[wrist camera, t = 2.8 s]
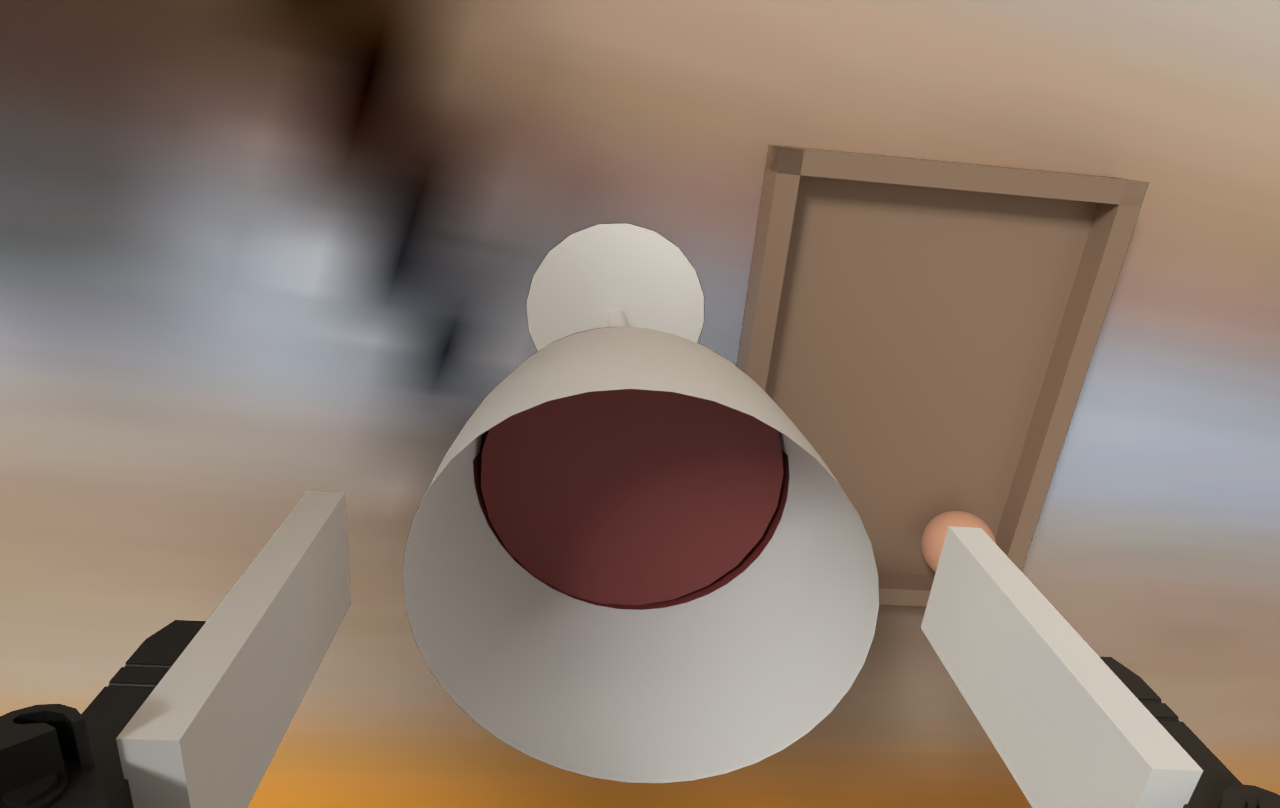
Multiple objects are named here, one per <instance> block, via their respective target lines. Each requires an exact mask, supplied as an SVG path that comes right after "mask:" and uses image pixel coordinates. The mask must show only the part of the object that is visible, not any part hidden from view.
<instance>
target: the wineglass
mask: <svg viewBox="0 0 1280 808" xmlns="http://www.w3.org/2000/svg"><path fill="white" fill-rule="evenodd" d="M526 304H527V316H528V329H529V332H530V335H531V337H532V339H533V342H534V344H535V346H536V349H537V351H538V352H536V353H534V354H533V355H531V356H530V357H529V358H528V359H527V360H526V361H524V362H523V363H522V364H521V365H520V366H518V367H517V368H516V369H515V370H514V371H513V372H512V373H511V374H510V375H508V376H507V377H506V378H505V379H504V380H503V381H502V382H501V383H499V384H498V385H497V386H496V387H495V388H494V389H493V390H492V391H491V392H490V393H489V394H488V396H487V397H486V398H485V399H484V400H483V402H482V403H481V404H480V406H479V407H478V408H477V410H476V411H475V412H474V413H473V415H472V416H471V417H470V419H469V420H468V421H467V423H466V424H465V426H464V427H463V429H462V430H461V432H460V433H459V435H458V436H457V438H456V439H455V441H454V442H453V444H452V445H451V447H450V448H449V450H448V452H447V453H446V455H445V456H444V458H443V460H442V462H441V464H440V466H439V468H438V470H437V472H436V474H435V476H434V478H433V480H432V482H431V484H430V486H429V488H428V490H427V492H426V494H425V496H424V498H423V499H422V502H421V504H420V506H419V508H418V510H417V512H416V514H415V516H414V518H413V522H412V526H411V529H410V533H409V536H408V540H407V544H406V547H405V554H404V568H403V590H404V597H405V605H406V613H407V617H408V620H409V623H410V626H411V629H412V632H413V635H414V638H415V641H416V644H417V646H418V648H419V650H420V652H421V654H422V656H423V657H424V659H425V661H426V663H427V665H428V667H429V669H430V671H431V672H432V674H433V675H434V676H435V678H436V679H437V680H438V682H439V683H440V684H441V686H442V687H443V688H444V690H445V691H446V692H447V694H448V695H449V696H450V698H451V699H452V700H453V701H454V702H455V703H456V704H457V705H459V706H460V707H461V708H462V709H463V710H464V711H465V712H466V713H467V714H468V715H469V716H470V717H471V718H472V719H473V720H474V721H475V722H476V723H478V724H479V725H481V726H482V727H483V728H485V729H486V730H487V731H489V732H490V733H491V734H493V735H494V736H496V737H497V738H498V739H500V740H501V741H503V742H505V743H506V744H508V745H510V746H512V747H514V748H516V749H517V750H519V751H521V752H523V753H525V754H526V755H528V756H530V757H533V758H535V759H538V760H540V761H543V762H545V763H548V764H550V765H553V766H555V767H558V768H560V769H563V770H567V771H571V772H575V773H578V774H582V775H586V776H590V777H594V778H600V779H607V780H614V781H621V782H631V783H670V782H681V781H692V780H698V779H702V778H707V777H712V776H716V775H721V774H726V773H729V772H732V771H734V770H737V769H740V768H743V767H746V766H749V765H752V764H755V763H757V762H759V761H761V760H763V759H765V758H767V757H769V756H771V755H773V754H775V753H777V752H779V751H781V750H783V749H785V748H786V747H788V746H789V745H791V744H792V743H794V742H795V741H797V740H798V739H800V738H801V737H803V736H804V735H806V734H807V733H809V732H810V731H811V730H812V729H813V728H814V727H815V726H816V725H817V724H819V723H820V722H821V721H822V720H823V719H824V718H825V717H826V716H827V715H828V714H830V713H831V712H832V710H833V709H834V708H835V707H836V705H837V704H838V703H839V702H840V701H841V699H842V698H843V697H844V696H845V694H846V693H847V692H848V691H849V689H850V688H851V686H852V684H853V683H854V681H855V679H856V677H857V675H858V674H859V672H860V670H861V668H862V667H863V665H864V663H865V660H866V657H867V655H868V652H869V649H870V646H871V643H872V640H873V638H874V634H875V628H876V622H877V615H878V609H879V586H878V572H877V567H876V563H875V558H874V554H873V549H872V544H871V542H870V540H869V537H868V535H867V532H866V530H865V528H864V525H863V523H862V521H861V518H860V516H859V514H858V512H857V511H856V509H855V507H854V506H853V504H852V503H851V501H850V500H849V498H848V497H847V495H846V493H845V492H844V490H843V489H842V487H841V486H840V484H839V483H838V481H837V480H836V478H835V477H834V475H833V474H832V472H831V471H830V470H829V468H828V467H827V465H826V464H825V462H824V461H823V460H822V458H821V457H820V455H819V454H818V453H817V452H816V450H815V449H814V448H813V446H812V445H811V444H810V443H809V441H808V440H807V439H806V438H805V437H804V435H803V434H802V433H801V432H800V430H799V429H798V428H797V427H796V426H795V424H794V423H793V422H792V421H791V420H790V419H789V417H788V416H787V415H786V414H785V413H784V412H783V411H782V410H781V409H780V408H779V406H778V405H777V404H776V403H775V402H774V401H773V400H772V399H771V398H770V396H769V395H768V394H767V393H766V392H765V391H764V390H763V389H762V388H761V387H760V386H759V385H758V384H757V383H756V382H755V381H754V380H752V379H751V378H750V377H749V376H748V375H746V374H745V373H744V372H743V371H741V370H740V369H739V368H738V367H736V366H735V365H734V364H733V363H731V362H730V361H728V360H727V359H725V358H724V357H722V356H720V355H718V354H717V353H715V352H713V351H711V350H710V349H708V348H706V347H704V346H703V345H700V344H698V343H697V342H698V339H699V336H700V333H701V330H702V327H703V324H704V295H703V292H702V289H701V286H700V283H699V280H698V277H697V274H696V271H695V269H694V268H693V267H692V265H691V264H690V263H689V261H688V260H687V258H686V257H685V256H684V254H683V253H682V252H681V250H680V249H679V248H678V247H677V246H675V245H674V244H672V243H671V242H669V241H668V240H667V239H665V238H664V237H662V236H661V235H659V234H658V233H657V232H655V231H651V230H648V229H645V228H641V227H638V226H635V225H631V224H628V223H625V224H598V225H595V226H592V227H590V228H587V229H584V230H581V231H579V232H576V233H573V234H571V235H570V236H568V237H567V238H566V239H565V240H563V241H562V242H561V243H560V244H558V245H557V246H556V247H555V248H553V249H552V250H551V251H549V252H548V254H547V255H546V257H545V259H544V260H543V262H542V263H541V265H540V266H539V268H538V269H537V271H536V272H535V274H534V276H533V279H532V283H531V287H530V291H529V295H528V299H527V303H526Z"/></svg>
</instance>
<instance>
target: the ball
mask: <svg viewBox="0 0 1280 808" xmlns="http://www.w3.org/2000/svg"><path fill="white" fill-rule="evenodd" d="M948 526H955V527H973V528H982V529H983V530H984V531H985V533H986V534H987V535H988V536H989V537H990V538H991V539H992V540H993V541H994V542H995V543H996V541H995V537H994V535H993V533H992V531H991V529H990V528H989V526H988V525H987V524H986V523H985V522H984V521H983V520H981V519H980V518H979V517H977V516H975V515H973V514H971V513H968V512H964V511H948V512H944V513H942V514H939V515H937V516H936V517H934V518H933V519H932V520H931V521H930V522H929V523H928V524H927V526H926V527H925V529H924V531H923V534H922V538H921V549H922V553H923V556H924V558H925V560H926V562H927V564H928V565H929V566H930V567H931V569H932V570H933V571H935V572H936V570H937V566H938V562H939V559H940V555H941V551H942V548H943V544H944V541H945V537H946V533H947V530H948Z"/></svg>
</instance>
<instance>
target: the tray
mask: <svg viewBox="0 0 1280 808" xmlns="http://www.w3.org/2000/svg"><path fill="white" fill-rule="evenodd" d="M1148 184H1149V182H1142V181H1135V180H1128V179H1121V178H1113V177H1103V176H1092V175H1082V174H1071V173H1061V172H1050V171H1040V170H1029V169H1019V168H1008V167H998V166H987V165H977V164H966V163H956V162H945V161H935V160H924V159H914V158H903V157H893V156H882V155H872V154H861V153H851V152H840V151H830V150H819V149H809V148H798V147H788V146H777V145H769V147H768V154H767V160H766V167H765V174H764V181H763V188H762V195H761V202H760V208H759V215H758V222H757V229H756V236H755V243H754V249H753V256H752V263H751V270H750V277H749V284H748V290H747V297H746V304H745V311H744V318H743V325H742V332H741V338H740V345H739V352H738V359H737V366H736V367H738V368H739V369H740V370H741V371H743V372H744V373H745V374H746V375H748V376H749V377H750V378H751V379H752V380H754V381H755V382H756V383H757V384H758V385H759V386H760V387H761V388H762V389H763V390H764V391H765V392H766V393H767V394H768V395H769V396H770V398H771V399H772V400H773V401H774V402H775V403H776V404H777V405H778V406H779V408H780V409H781V410H782V411H783V412H784V413H785V414H786V415H787V416H788V417H789V419H790V420H791V421H792V422H793V423H794V424H795V426H796V427H797V428H798V429H799V430H800V432H801V433H802V434H803V435H804V437H805V438H806V439H807V440H808V441H809V443H810V444H811V445H812V446H813V448H814V449H815V450H816V452H817V453H818V454H819V455H820V457H821V458H822V460H823V461H824V462H825V464H826V465H827V467H828V468H829V470H830V471H831V472H832V474H833V475H834V477H835V478H836V480H837V481H838V483H839V484H840V486H841V487H842V489H843V490H844V492H845V493H846V495H847V497H848V498H849V500H850V501H851V503H852V504H853V506H854V507H855V509H856V511H857V512H858V514H859V516H860V518H861V521H862V523H863V525H864V528H865V530H866V532H867V535H868V537H869V540H870V542H871V544H872V549H873V554H874V558H875V563H876V567H877V572H878V586H879V605H897V606H922V607H926V606H927V603H928V599H929V595H930V592H931V588H932V584H933V581H934V577H935V573H936V572H935V571H933V570H932V569H931V567H930V566H929V565H928V564H927V562H926V560H925V558H924V556H923V553H922V549H921V538H922V534H923V531H924V529H925V527H926V526H927V524H928V523H929V522H930V521H931V520H932V519H933V518H934V517H936V516H937V515H939V514H942V513H944V512H948V511H964V512H968V513H971V514H973V515H975V516H977V517H979V518H980V519H981V520H983V521H984V522H985V523H986V524H987V525H988V526H989V528H990V529H991V531H992V533H993V535H994V537H995V541H996V545H997V546H998V547H999V548H1000V549H1001V550H1002V551H1003V552H1004V553H1005V554H1006V555H1007V557H1008V558H1009V559H1010V560H1011V561H1012V562H1013V563H1014V564H1015V565H1016V566H1017V568H1018V569H1019V570H1020V571H1022V568H1023V565H1024V562H1025V559H1026V556H1027V553H1028V550H1029V546H1030V543H1031V540H1032V537H1033V534H1034V531H1035V528H1036V525H1037V522H1038V519H1039V516H1040V513H1041V510H1042V507H1043V504H1044V501H1045V498H1046V495H1047V492H1048V489H1049V486H1050V483H1051V479H1052V476H1053V473H1054V470H1055V467H1056V464H1057V461H1058V458H1059V455H1060V452H1061V449H1062V446H1063V443H1064V440H1065V437H1066V434H1067V431H1068V428H1069V425H1070V422H1071V419H1072V416H1073V413H1074V409H1075V406H1076V403H1077V400H1078V397H1079V394H1080V391H1081V388H1082V385H1083V382H1084V379H1085V376H1086V373H1087V370H1088V367H1089V364H1090V361H1091V358H1092V355H1093V352H1094V349H1095V346H1096V342H1097V339H1098V336H1099V333H1100V330H1101V327H1102V324H1103V321H1104V318H1105V315H1106V312H1107V309H1108V306H1109V303H1110V300H1111V297H1112V294H1113V291H1114V288H1115V285H1116V282H1117V279H1118V276H1119V272H1120V269H1121V266H1122V263H1123V260H1124V257H1125V254H1126V251H1127V248H1128V245H1129V242H1130V239H1131V236H1132V233H1133V230H1134V227H1135V224H1136V221H1137V218H1138V215H1139V212H1140V209H1141V206H1142V202H1143V199H1144V196H1145V193H1146V190H1147V187H1148Z"/></svg>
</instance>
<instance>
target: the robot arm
mask: <svg viewBox="0 0 1280 808" xmlns="http://www.w3.org/2000/svg"><path fill="white" fill-rule="evenodd" d="M350 604H351V591H350V574H349V556H348V539H347V521H346V504H345V493H341V492H323V491H306V493H305V494H304V495H303V497H302V498H301V499H300V501H299V502H298V503H297V504H296V506H295V507H294V508H293V510H292V511H291V512H290V514H289V515H288V516H287V517H286V519H285V520H284V521H283V523H282V524H281V525H280V526H279V528H278V529H277V530H276V532H275V533H274V534H273V536H272V537H271V538H270V539H269V541H268V542H267V543H266V545H265V546H264V547H263V549H262V550H261V551H260V552H259V554H258V555H257V556H256V558H255V559H254V560H253V562H252V563H251V564H250V565H249V567H248V568H247V569H246V571H245V572H244V573H243V575H242V576H241V577H240V578H239V580H238V581H237V582H236V584H235V585H234V586H233V587H232V589H231V590H230V591H229V593H228V594H227V595H226V597H225V598H224V599H223V600H222V602H221V603H220V604H219V606H218V607H217V608H216V610H215V611H214V612H213V613H212V615H211V616H210V617H209V619H208V620H207V621H184V620H175V621H173V622H172V623H170V624H169V625H167V626H166V627H164V628H163V629H161V630H160V631H158V632H157V633H155V634H153V635H152V636H150V637H149V638H147V639H146V640H145V641H144V642H143V643H142V644H141V646H140V647H139V648H138V649H137V650H136V651H135V653H134V654H133V655H132V656H131V657H130V658H129V660H128V661H127V662H126V665H125V667H122V668H121V669H120V670H119V671H118V672H117V674H116V675H115V676H114V677H113V678H112V679H111V680H110V682H109V686H108V687H104V689H103V690H102V691H101V692H100V693H99V694H98V696H97V697H96V698H95V699H94V700H93V701H92V703H91V704H90V705H89V706H88V707H87V708H86V710H85V711H84V712H83V713H82V714H80V713H79V712H78V711H77V709H75V708H72V707H68V706H65V705H61V704H47V705H35V706H31V707H27V708H23V709H20V710H16V711H12V712H10V713H7V714H5V715H3V716H1V717H0V808H248V806H249V804H250V802H251V800H252V798H253V796H254V794H255V792H256V790H257V788H258V786H259V784H260V782H261V780H262V778H263V776H264V774H265V772H266V770H267V768H268V766H269V764H270V762H271V760H272V758H273V756H274V754H275V752H276V750H277V748H278V746H279V744H280V742H281V740H282V738H283V736H284V734H285V732H286V730H287V728H288V727H289V725H290V723H291V721H292V719H293V717H294V715H295V713H296V711H297V709H298V707H299V705H300V703H301V701H302V699H303V697H304V695H305V693H306V691H307V689H308V687H309V685H310V683H311V681H312V679H313V677H314V675H315V673H316V671H317V669H318V667H319V665H320V663H321V661H322V659H323V657H324V655H325V653H326V651H327V649H328V647H329V645H330V643H331V641H332V640H333V638H334V636H335V634H336V632H337V630H338V628H339V626H340V624H341V622H342V620H343V618H344V616H345V614H346V612H347V610H348V608H349V606H350ZM921 629H922V631H923V632H924V634H925V636H926V637H927V639H928V640H929V642H930V644H931V645H932V647H933V648H934V650H935V652H936V653H937V655H938V657H939V658H940V660H941V661H942V663H943V665H944V666H945V668H946V669H947V671H948V673H949V674H950V676H951V677H952V679H953V681H954V682H955V684H956V685H957V687H958V689H959V690H960V692H961V694H962V695H963V697H964V698H965V700H966V702H967V703H968V705H969V706H970V708H971V710H972V711H973V713H974V714H975V716H976V718H977V719H978V721H979V723H980V724H981V726H982V727H983V729H984V731H985V732H986V734H987V735H988V737H989V739H990V740H991V742H992V743H993V745H994V747H995V748H996V750H997V752H998V753H999V755H1000V756H1001V758H1002V760H1003V761H1004V763H1005V764H1006V766H1007V768H1008V769H1009V771H1010V772H1011V774H1012V776H1013V777H1014V779H1015V781H1016V782H1017V784H1018V785H1019V787H1020V789H1021V790H1022V792H1023V793H1024V795H1025V797H1026V798H1027V800H1028V801H1029V803H1030V805H1031V806H1032V808H1280V796H1279V795H1278V794H1276V793H1273V792H1270V791H1267V790H1265V789H1262V788H1259V787H1256V786H1250V785H1243V784H1242V783H1241V782H1240V781H1239V780H1238V779H1237V778H1236V777H1235V776H1234V775H1233V774H1232V773H1231V772H1230V771H1229V770H1228V769H1227V768H1226V767H1225V766H1224V765H1223V763H1222V762H1221V761H1220V760H1219V759H1218V758H1217V757H1216V756H1215V755H1214V754H1213V753H1212V752H1211V751H1210V750H1209V749H1208V748H1207V747H1206V746H1205V745H1204V744H1203V743H1202V741H1201V740H1200V739H1199V738H1198V737H1197V736H1196V735H1195V734H1194V733H1193V732H1192V731H1191V730H1190V729H1189V728H1188V727H1187V726H1186V725H1185V724H1184V723H1183V722H1179V720H1178V716H1177V715H1176V714H1175V713H1174V712H1173V711H1172V710H1171V709H1170V708H1169V707H1168V706H1167V705H1166V704H1165V703H1161V699H1160V697H1159V696H1158V695H1157V694H1156V693H1155V692H1154V691H1153V690H1152V689H1151V688H1150V687H1149V686H1148V685H1147V684H1146V683H1145V682H1144V681H1143V680H1142V679H1141V678H1140V677H1139V676H1138V675H1136V674H1135V673H1133V672H1132V671H1130V670H1129V669H1128V668H1126V667H1125V666H1123V665H1122V664H1120V663H1119V662H1117V661H1116V660H1114V659H1113V658H1112V657H1099V656H1098V655H1097V654H1096V653H1095V652H1094V651H1093V649H1092V648H1091V647H1090V646H1089V645H1088V644H1087V643H1086V642H1085V641H1084V640H1083V639H1082V637H1081V636H1080V635H1079V634H1078V633H1077V632H1076V631H1075V630H1074V629H1073V628H1072V627H1071V625H1070V624H1069V623H1068V622H1067V621H1066V620H1065V619H1064V618H1063V617H1062V616H1061V615H1060V613H1059V612H1058V611H1057V610H1056V609H1055V608H1054V607H1053V606H1052V605H1051V604H1050V602H1049V601H1048V600H1047V599H1046V598H1045V597H1044V596H1043V595H1042V594H1041V593H1040V592H1039V590H1038V589H1037V588H1036V587H1035V586H1034V585H1033V584H1032V583H1031V582H1030V581H1029V580H1028V578H1027V577H1026V576H1025V575H1024V574H1023V573H1022V572H1021V571H1020V570H1019V569H1018V568H1017V566H1016V565H1015V564H1014V563H1013V562H1012V561H1011V560H1010V559H1009V558H1008V557H1007V555H1006V554H1005V553H1004V552H1003V551H1002V550H1001V549H1000V548H999V547H998V546H997V545H996V543H995V542H994V541H993V540H992V539H991V538H990V537H989V536H988V535H987V534H986V533H985V531H984V530H983V529H982V528H973V527H955V526H948V530H947V533H946V537H945V541H944V544H943V548H942V551H941V555H940V559H939V562H938V566H937V570H936V573H935V577H934V581H933V584H932V588H931V592H930V595H929V599H928V603H927V606H926V610H925V614H924V617H923V621H922V625H921Z"/></svg>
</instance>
